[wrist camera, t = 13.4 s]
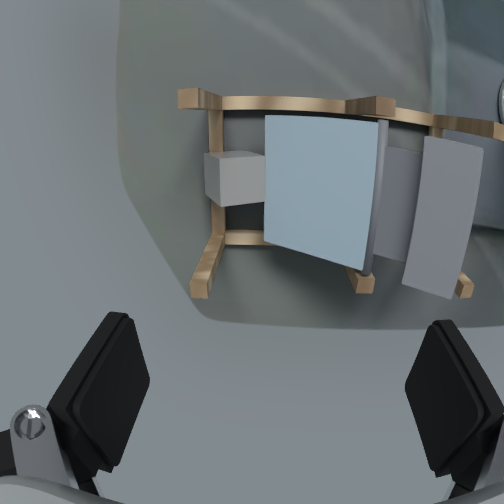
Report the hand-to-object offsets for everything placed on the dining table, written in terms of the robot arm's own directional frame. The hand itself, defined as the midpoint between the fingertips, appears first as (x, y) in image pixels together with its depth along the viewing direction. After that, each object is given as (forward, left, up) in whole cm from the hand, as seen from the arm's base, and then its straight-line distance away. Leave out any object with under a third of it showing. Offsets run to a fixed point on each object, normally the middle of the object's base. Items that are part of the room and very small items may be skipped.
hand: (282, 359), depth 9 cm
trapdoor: (-10, 0, -23) cm, 25 cm away
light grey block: (+3, 0, -25) cm, 25 cm away
